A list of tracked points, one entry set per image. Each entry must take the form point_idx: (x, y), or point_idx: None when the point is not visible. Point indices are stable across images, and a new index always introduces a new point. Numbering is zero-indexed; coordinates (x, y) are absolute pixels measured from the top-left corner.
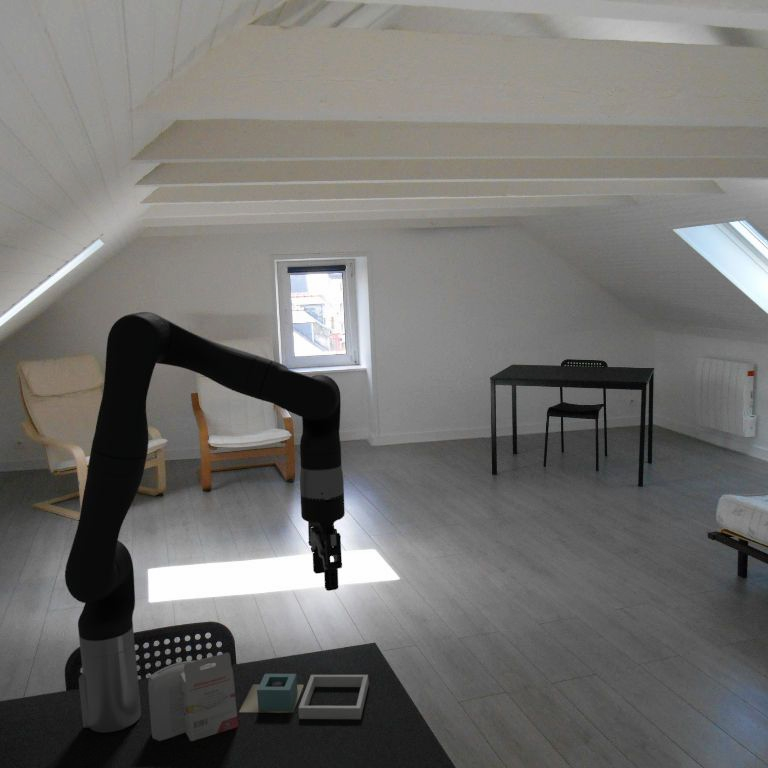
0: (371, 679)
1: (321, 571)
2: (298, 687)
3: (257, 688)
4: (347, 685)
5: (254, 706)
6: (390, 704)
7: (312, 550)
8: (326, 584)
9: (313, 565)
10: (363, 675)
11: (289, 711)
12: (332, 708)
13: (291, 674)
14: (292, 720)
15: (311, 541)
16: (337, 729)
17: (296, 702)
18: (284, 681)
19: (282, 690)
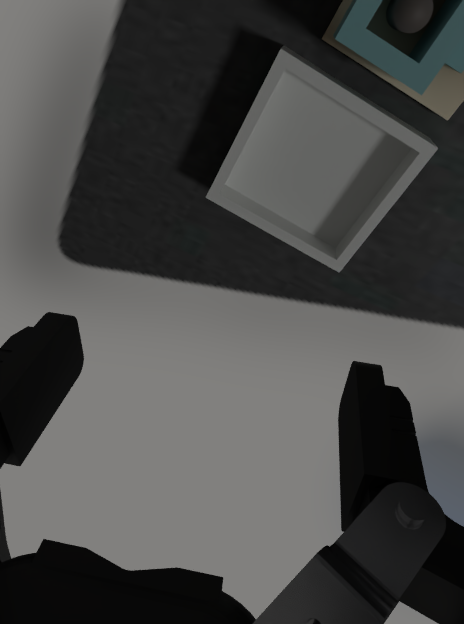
0: (376, 277)
1: (343, 395)
2: (442, 99)
3: None
4: (359, 219)
5: None
6: (257, 266)
7: (381, 501)
8: (31, 334)
9: (376, 395)
10: (342, 263)
11: (332, 29)
12: (235, 138)
13: (428, 78)
14: (311, 31)
15: (280, 605)
16: (217, 129)
17: (367, 66)
18: (426, 46)
19: (349, 14)
